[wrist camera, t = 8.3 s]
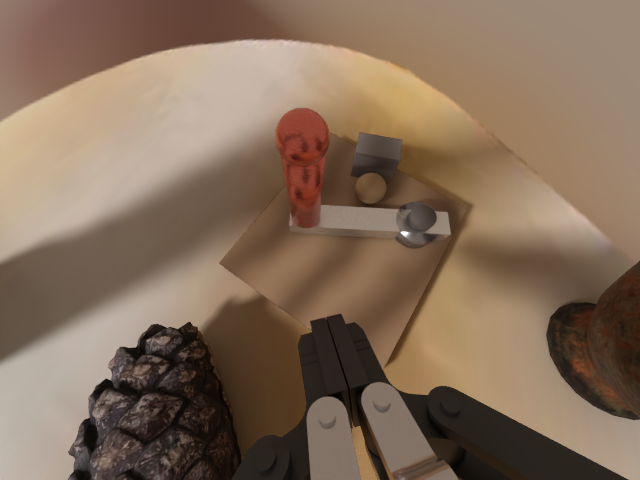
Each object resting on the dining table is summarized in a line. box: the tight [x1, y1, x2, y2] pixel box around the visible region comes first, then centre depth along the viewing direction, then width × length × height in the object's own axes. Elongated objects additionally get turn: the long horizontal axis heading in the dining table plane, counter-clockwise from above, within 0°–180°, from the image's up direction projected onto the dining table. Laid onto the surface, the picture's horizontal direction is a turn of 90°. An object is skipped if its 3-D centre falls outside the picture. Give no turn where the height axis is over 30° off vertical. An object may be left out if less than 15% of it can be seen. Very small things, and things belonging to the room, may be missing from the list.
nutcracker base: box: [219, 132, 467, 369], centre depth 25 cm, size 18×20×6 cm
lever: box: [275, 108, 451, 249], centre depth 20 cm, size 16×4×14 cm, turn 87°
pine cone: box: [68, 322, 242, 480], centre depth 17 cm, size 10×18×10 cm, turn 23°
